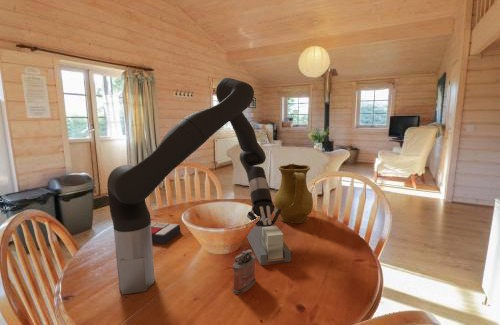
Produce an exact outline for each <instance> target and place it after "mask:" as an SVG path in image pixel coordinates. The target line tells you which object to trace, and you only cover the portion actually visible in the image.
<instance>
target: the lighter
mask: <svg viewBox="0 0 500 325" xmlns="http://www.w3.org/2000/svg"><path fill="white" fill-rule="evenodd" d="M256 258H257V257H256V255H255V254H253V249H247V250H242V251H241V253H240V254H238V255H236V256H235V257H234V263H233V264H232V271H233V273H232V276H233V287H232V293H234V294H236V295H241V294H243V293H245V292H246V291H248V290H249V289H251V288H252V287H253V286H254V285H255V283H257V282H256V280H257V278H256V268H255V267H256V260H257V259H256Z"/></svg>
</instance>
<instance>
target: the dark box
mask: <svg viewBox="0 0 500 325" xmlns="http://www.w3.org/2000/svg"><path fill="white" fill-rule="evenodd" d="M151 233H152V243H154V244H158V245H164V246H165V245H167V244H168V243H170V242H172V240H173V239H175V238H176V237H177V236H179V235H180V234H181V233H182V232H181V225H180V224H178V223H169V222H157V221H156V222H155V221H151Z"/></svg>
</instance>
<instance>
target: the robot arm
mask: <svg viewBox="0 0 500 325" xmlns="http://www.w3.org/2000/svg"><path fill="white" fill-rule="evenodd" d="M215 95H216V100H217V101H218V103H217V104H216V105H213V106H211V107H209V108H205V109H200V110H198V111H196V112H193V113H191V114H188V115H186V116H184V117H183V119H181V120H180V121H179V122H177V123H176V124H175V125H174V126H172V128H170V129H169V130H168V131H167V133H166V134H165V135H164V137H163V138H162V140H161V141H160V143H159V144H158V146H157V147H156V148H155V149H154V150H153V151H152V153H150V154H149V155H148V156H146V157H144V158H143V159H142V160H141V161H139V162H138V163H137V164H135V165H130V164H129V165H128V164H124V165H123V164H122V165H120V166H117V167H115V168H114V169H113V170H112V171H111V172H110V173H109V175H108V177H107V182H106V183H107V185H106V186H107V196H108V197H107V198H108V204H109V205H108V206H109V212H110V213H109V214H110V217H111V219H112V226H113V235H114V246H115V256H116V267H117V278H118V288H119V291H120V292H121V295H129V294H136V293H145V292H147V291H148V289H149V288H150V287H151V286H153V284H154V283H155V278H156V277H155V266H154V264H155V263H154V252H153V250H154V248H153V242H152V233H151V222H152V220H151V213H150V211H149V209H148V206H147V203H146V199H147V198H148V197H149V196H150V195H151V194H152V193H153V192H154V191H155V189H156V188H157V187H158V186H159V185H160V184H161V183H162V182H163V181H164V180H165V178H166V177H167V176H168V175H169V174H171V173H172V172H173V171H174V170H175V169H176V168H177V167H178V166H180V165H181V164H182V163H183V162H184V161H186V159H187V158H189V157H190V156H191V155H192V154H193V153H194V152H196V151H197V150H199V148H200V147H201V146H202V145H204V144H205V143H206V142H207V141H208V140H209V139H210V138H211V137H212V136H213V135H214V134H215V133H217V132H218V131H219V130H220V129H222V128H223V127H224V126H226V125H227V124H228V123H229V122H230V124H231V127H232V128H233V131H234V133H235V136H236V139H237V142H238V144H239V147H240V149H241V152H240V154H239V161H240V164H241V165H242V167H243V168H244V170H245V172H246V176H247V181H248V190H249V195H250V196H249V197H250V201H251V209H250V211H248V212H247V215H246V216H247V218H248V219H249V220H250V221H251V222H252V220H254V219H256V218H258V217H257V216H260V219H259V221H258V222H257V223H256V224H255V226H258V227H259V226H261V227H269V226H275V224H276V222H277V220H278V218H279V216H280V213H281V209H276V208H275V204H274V203H273V200H272V194H271V191H270V187H269V182H268V181H267V177H266V172H265V169H264V167H262V166H259V165H262V164H264V163H265V162H266V158H267V157H266V153H265V151H264V149H263V148H262V146H261V145H260V144H259V142H258V140H257V139H258V138H257V136H256V132H255V129H254V127H253V125H252V124H251V122H250V121H249V119H247V116H246V115H245V114H244V111H245V110H247V109H248V108H249V106H250V105H251V104H252V102H253V100H254V96H255V91H254V88H253V86H252V85H251V84H250V83H248V82H246V81H243V80H239V79H235V78H232V77H224V78H222V79H220V81H219V82H218V83H217V85H216V90H215ZM273 214H274V217H273V219H272V218H271V217H272V216H273ZM271 219H272V220H271Z"/></svg>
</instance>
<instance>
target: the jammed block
mask: <svg viewBox="0 0 500 325" xmlns="http://www.w3.org/2000/svg"><path fill="white" fill-rule="evenodd" d="M283 242H284V233H283V232H282V231H281V230H280V228H279V227H278V226H277V225H272V226H269V227H262V247H263V248H264V250H265V252H266V254H267V259H268V260H270V259H278V258H283Z"/></svg>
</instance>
